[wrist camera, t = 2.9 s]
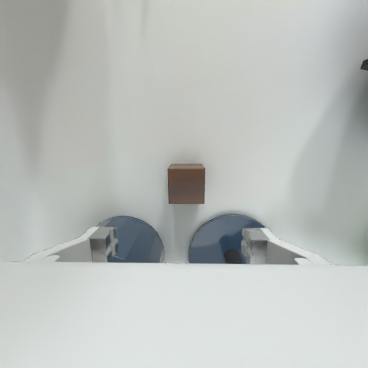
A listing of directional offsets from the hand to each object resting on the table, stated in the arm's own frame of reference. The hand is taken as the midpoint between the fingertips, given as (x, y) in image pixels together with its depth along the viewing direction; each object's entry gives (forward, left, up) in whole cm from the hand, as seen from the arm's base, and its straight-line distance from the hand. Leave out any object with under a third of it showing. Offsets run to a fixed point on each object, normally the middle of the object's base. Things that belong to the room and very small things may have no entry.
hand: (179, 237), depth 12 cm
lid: (+11, +7, -15) cm, 20 cm away
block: (-1, 0, -16) cm, 16 cm away
